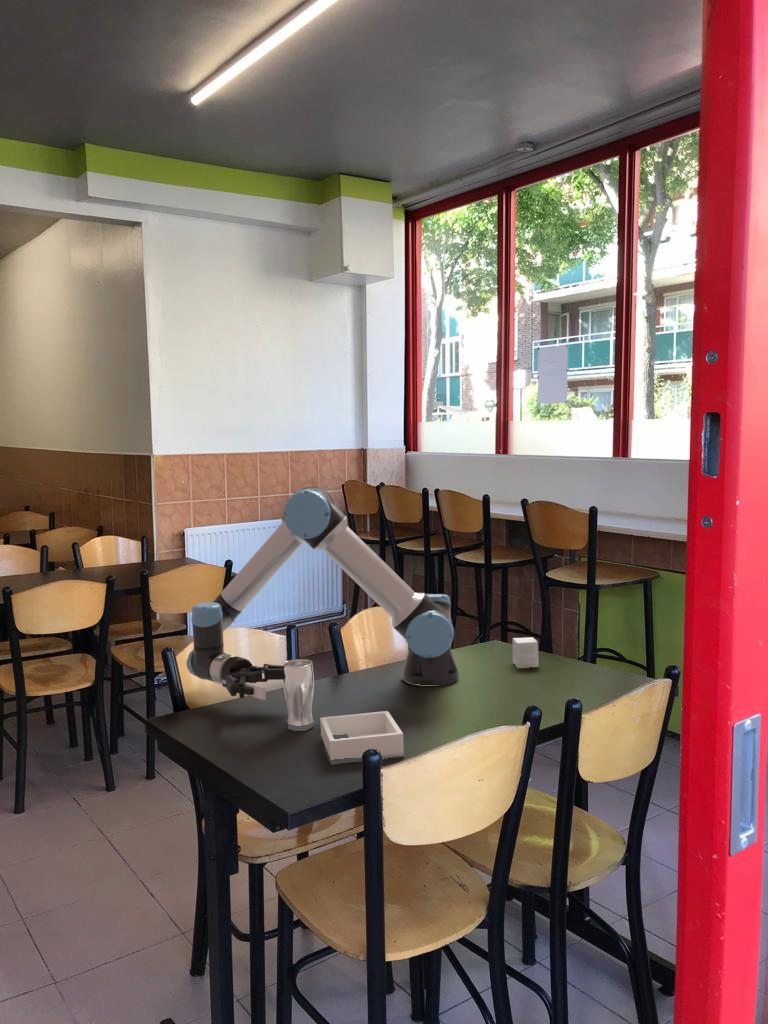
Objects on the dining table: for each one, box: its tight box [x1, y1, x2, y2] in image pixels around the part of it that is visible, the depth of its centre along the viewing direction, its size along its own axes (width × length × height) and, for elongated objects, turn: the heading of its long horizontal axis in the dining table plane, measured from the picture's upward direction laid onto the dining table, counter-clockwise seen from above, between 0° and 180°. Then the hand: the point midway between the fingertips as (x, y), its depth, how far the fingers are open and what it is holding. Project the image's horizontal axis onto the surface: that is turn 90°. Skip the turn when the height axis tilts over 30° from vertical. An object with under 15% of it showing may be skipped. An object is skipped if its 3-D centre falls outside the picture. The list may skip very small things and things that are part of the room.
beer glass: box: [282, 658, 315, 726], centre depth 192 cm, size 7×7×15 cm
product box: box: [512, 636, 540, 669], centre depth 238 cm, size 6×6×7 cm
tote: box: [319, 710, 405, 761], centre depth 178 cm, size 15×15×5 cm
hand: (288, 686), depth 194 cm, fingers open, 13 cm apart
